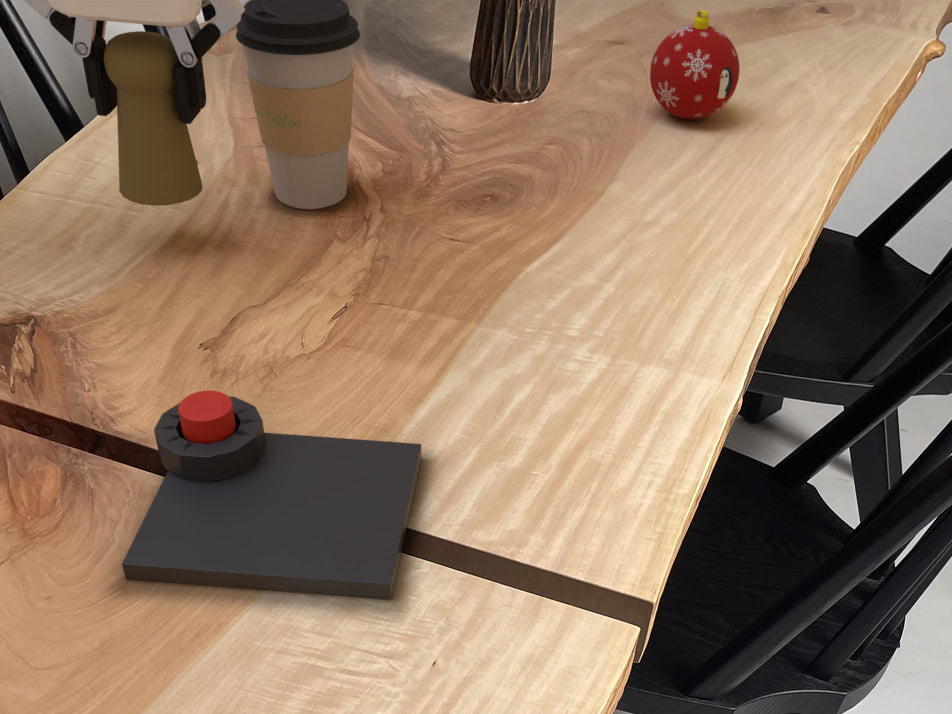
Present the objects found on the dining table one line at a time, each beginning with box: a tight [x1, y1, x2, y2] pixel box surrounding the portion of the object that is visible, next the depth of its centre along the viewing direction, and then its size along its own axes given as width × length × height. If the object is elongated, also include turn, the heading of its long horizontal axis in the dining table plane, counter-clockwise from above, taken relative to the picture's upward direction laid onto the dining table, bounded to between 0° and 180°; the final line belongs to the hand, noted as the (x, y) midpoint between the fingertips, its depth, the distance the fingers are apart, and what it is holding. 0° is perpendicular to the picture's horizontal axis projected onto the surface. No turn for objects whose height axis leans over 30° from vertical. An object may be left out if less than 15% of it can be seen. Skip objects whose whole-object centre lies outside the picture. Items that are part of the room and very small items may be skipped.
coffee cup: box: [235, 0, 361, 210], centre depth 88 cm, size 9×9×15 cm
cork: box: [104, 30, 203, 207], centre depth 79 cm, size 6×6×11 cm
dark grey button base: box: [121, 395, 423, 601], centre depth 61 cm, size 15×13×3 cm
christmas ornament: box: [649, 9, 740, 120], centre depth 106 cm, size 9×9×10 cm
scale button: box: [178, 390, 236, 444], centre depth 63 cm, size 3×3×2 cm
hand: (150, 110), depth 79 cm, fingers closed on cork, 5 cm apart
